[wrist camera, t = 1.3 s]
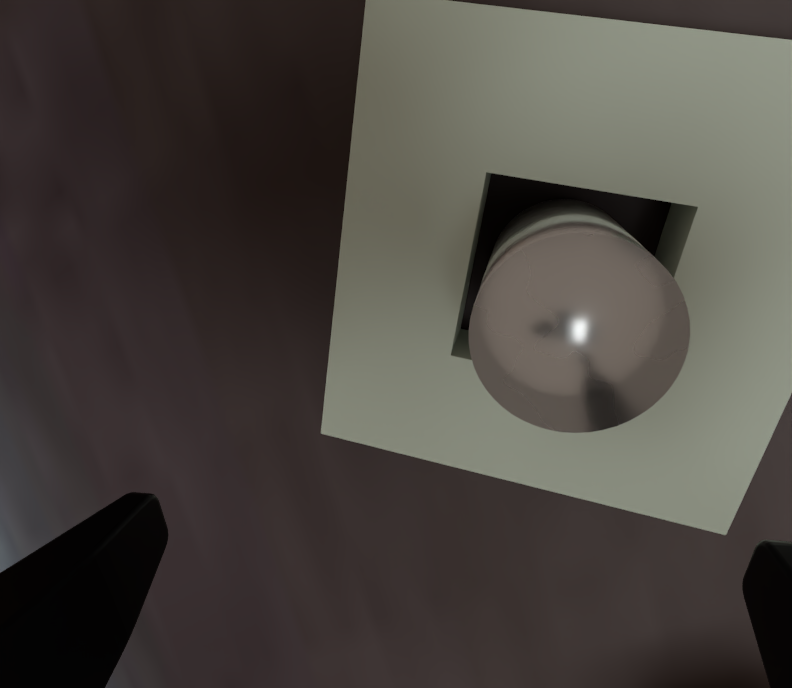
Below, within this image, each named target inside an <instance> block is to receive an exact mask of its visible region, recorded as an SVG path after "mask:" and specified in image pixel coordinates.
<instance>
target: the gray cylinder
mask: <svg viewBox="0 0 792 688" xmlns="http://www.w3.org/2000/svg"><path fill="white" fill-rule="evenodd" d="M689 340H690V319H689V313H688V308H687V305H686V302H685V299H684V296H683V294H682V292H681V290H680V288H679V286H678V284H677V282H676V281H675V279H674V278H673V277H672V275H671V274H670V273H669V271H668V270H667V269H666V268H665V267H664V266H663V265H662V264H661V263H660V262H659V261H658V260H657V259H656V258H655V257H654V256H653V255H652V254H651V253H650V252H648V251H647V250H646V249H645V248H644V247H643V246H642V245H641V244H640V243H639V242H638V241H637V240H636V239H635V238H633V237H632V236H631V235H630V234H629V233H628V232H627V231H626V230H625V229H624V228H623V227H622V226H621V225H619V224H618V223H617V222H616V221H615V220H614V219H613V218H612V217H611V216H610V215H609V214H607V213H606V212H605V211H603V210H602V209H600V208H598V207H596V206H595V205H592V204H590V203H587V202H584V201H580V200H575V199H553V200H547V201H544V202H540V203H537V204H535V205H533V206H531V207H529V208H527V209H525V210H524V211H522V212H520V213H519V214H518V215H517V216H515V217H514V218H513V219H512V220H511V221H510V222H509V223H508V224H507V225H506V226H505V228H504V229H503V230H502V232H501V233H500V235H499V237H498V239H497V241H496V243H495V245H494V248H493V251H492V254H491V257H490V259H489V262H488V265H487V268H486V271H485V274H484V277H483V280H482V283H481V286H480V289H479V291H478V294H477V297H476V300H475V303H474V306H473V310H472V313H471V317H470V324H469V348H470V355H471V359H472V362H473V366H474V368H475V370H476V373H477V375H478V377H479V379H480V381H481V382H482V384H483V386H484V387H485V389H486V390H487V391H488V393H489V394H490V395H491V396H492V397H493V399H494V400H496V401H497V402H498V403H499V404H500V405H501V406H502V407H503V408H504V409H506V410H507V411H508V412H510V413H511V414H512V415H514V416H516V417H518V418H519V419H521V420H523V421H525V422H527V423H530V424H532V425H534V426H537V427H541V428H544V429H547V430H552V431H558V432H567V433H585V432H594V431H600V430H605V429H608V428H612V427H615V426H618V425H621V424H623V423H625V422H628V421H630V420H632V419H634V418H635V417H637V416H639V415H641V414H642V413H644V412H645V411H647V410H648V409H649V408H651V407H652V406H653V405H654V404H655V403H656V402H658V401H659V400H660V399H661V398H662V397H663V396H664V395H665V393H666V392H667V391H668V390H669V389H670V387H671V386H672V385H673V383H674V381H675V380H676V378H677V377H678V375H679V373H680V371H681V369H682V367H683V364H684V362H685V359H686V355H687V352H688V348H689Z"/></svg>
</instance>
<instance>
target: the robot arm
mask: <svg viewBox="0 0 792 688" xmlns="http://www.w3.org/2000/svg"><path fill="white" fill-rule="evenodd" d="M167 541H168V528H167V525H166V522H165V519H164V515H163V512H162V509H161V506H160V503H159V500H158V498H157V497H156V496H155V495H154V494H150V493H136V492H132V493H128V494H126V495H124V496H122V497H121V498H119V499H117V500H116V501H114V502H113V503H111V504H109V505H108V506H106V507H105V508H103V509H102V510H100V511H98V512H97V513H95V514H94V515H92V516H90V517H89V518H87V519H86V520H84V521H82V522H81V523H79V524H78V525H76V526H74V527H73V528H71V529H70V530H68V531H66V532H65V533H63V534H62V535H60V536H58V537H57V538H55V539H54V540H52V541H50V542H49V543H47V544H46V545H44V546H42V547H41V548H39V549H38V550H36V551H34V552H33V553H31V554H30V555H28V556H26V557H25V558H23V559H22V560H20V561H18V562H17V563H15V564H14V565H12V566H10V567H9V568H7V569H6V570H4V571H3V572H1V573H0V688H105V686H106V684H107V682H108V680H109V678H110V677H111V675H112V673H113V671H114V669H115V667H116V665H117V663H118V661H119V659H120V657H121V655H122V653H123V651H124V649H125V647H126V644H127V642H128V640H129V638H130V636H131V634H132V631H133V629H134V627H135V624H136V622H137V619H138V617H139V614H140V612H141V609H142V606H143V604H144V601H145V599H146V596H147V594H148V591H149V589H150V586H151V584H152V581H153V578H154V576H155V573H156V571H157V568H158V566H159V563H160V561H161V558H162V555H163V553H164V550H165V548H166V545H167ZM743 595H744V599H745V602H746V606H747V609H748V613H749V616H750V620H751V623H752V627H753V630H754V633H755V637H756V640H757V644H758V647H759V651H760V654H761V658H762V661H763V665H764V668H765V671H766V675H767V678H768V682H769V685H770V688H792V542H787V541H774V540H762V541H760V542H759V543H758V544H757V546H756V547H755V550H754V552H753V555H752V557H751V560H750V562H749V565H748V568H747V570H746V573H745V575H744V578H743Z"/></svg>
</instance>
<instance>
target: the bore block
mask: <svg viewBox="0 0 792 688" xmlns="http://www.w3.org/2000/svg"><path fill="white" fill-rule="evenodd" d="M491 173H494V174H500V175H506V176H512V177H518V178H524V179H531V180H537V181H543V182H549V183H555V184H561V185H567V186H573V187H579V188H586V189H592V190H598V191H604V192H610V193H616V194H622V195H628V196H635V197H641V198H647V199H653V200H659V201H665V202H671V206H670V209H669V213H668V216H667V219H666V222H665V225H664V228H663V231H662V234H661V237H660V240H659V244H658V247H657V250H656V253H655V256H654V257H655V258H656V259H657V260H658V261H659V262H660V263H661V264H662V265H663V266H664V267H665V268H666V269H667V270H668V271H669V273H670V274H671V275H672V277H673V278H674V279H675V281H676V282H677V284H678V286H679V288H680V290H681V292H682V294H683V296H684V299H685V302H686V305H687V308H688V313H689V319H690V340H689V348H688V352H687V355H686V359H685V362H684V364H683V367H682V369H681V371H680V373H679V375H678V377H677V378H676V380H675V381H674V383H673V385H672V386H671V387H670V389H669V390H668V391H667V392H666V393H665V395H664V396H663V397H662V398H661V399H660V400H659V401H658V402H656V403H655V404H654V405H653V406H652V407H651V408H649V409H648V410H647V411H645V412H644V413H642V414H641V415H639V416H637V417H635V418H634V419H632V420H630V421H628V422H625V423H623V424H621V425H618V426H615V427H612V428H608V429H605V430H600V431H594V432H585V433H567V432H558V431H552V430H547V429H544V428H541V427H537V426H534V425H532V424H530V423H527V422H525V421H523V420H521V419H519V418H518V417H516V416H514V415H512V414H511V413H510V412H508V411H507V410H506V409H504V408H503V407H502V406H501V405H500V404H499V403H498V402H497V401H496V400H494V399H493V397H492V396H491V395H490V394H489V393H488V391H487V390H486V389H485V387H484V386H483V384H482V382H481V381H480V379H479V377H478V375H477V373H476V370H475V368H474V366H473V362H472V359H471V355H470V348H469V330H464V329H461V324H462V319H463V314H464V309H465V304H466V299H467V294H468V289H469V284H470V279H471V274H472V269H473V263H474V258H475V253H476V248H477V243H478V238H479V233H480V228H481V223H482V218H483V213H484V208H485V203H486V198H487V193H488V188H489V183H490V178H491ZM791 393H792V40H787V39H778V38H770V37H761V36H752V35H744V34H735V33H726V32H717V31H709V30H700V29H691V28H683V27H674V26H665V25H657V24H648V23H639V22H630V21H622V20H613V19H604V18H596V17H587V16H578V15H570V14H561V13H552V12H543V11H535V10H526V9H517V8H509V7H500V6H491V5H483V4H474V3H465V2H456V1H448V0H366V3H365V13H364V23H363V32H362V42H361V51H360V61H359V71H358V80H357V90H356V100H355V109H354V119H353V128H352V138H351V148H350V157H349V167H348V177H347V186H346V196H345V205H344V215H343V225H342V234H341V244H340V254H339V263H338V273H337V282H336V292H335V302H334V311H333V321H332V331H331V340H330V350H329V360H328V369H327V379H326V388H325V398H324V408H323V417H322V427H321V434H325V435H329V436H333V437H337V438H341V439H345V440H349V441H353V442H357V443H361V444H365V445H369V446H373V447H377V448H380V449H384V450H388V451H392V452H396V453H400V454H404V455H408V456H412V457H416V458H420V459H424V460H428V461H432V462H436V463H440V464H444V465H448V466H452V467H456V468H460V469H464V470H468V471H472V472H476V473H480V474H484V475H488V476H492V477H496V478H500V479H504V480H508V481H512V482H516V483H520V484H524V485H528V486H532V487H536V488H540V489H544V490H548V491H552V492H556V493H560V494H564V495H568V496H572V497H576V498H580V499H584V500H588V501H592V502H596V503H600V504H604V505H608V506H611V507H615V508H619V509H623V510H627V511H631V512H635V513H639V514H643V515H647V516H651V517H655V518H659V519H663V520H667V521H671V522H675V523H679V524H683V525H687V526H691V527H695V528H699V529H703V530H707V531H711V532H715V533H719V534H723V535H726V534H727V532H728V530H729V527H730V525H731V523H732V521H733V519H734V517H735V514H736V512H737V510H738V508H739V506H740V504H741V501H742V499H743V497H744V495H745V493H746V491H747V488H748V486H749V484H750V482H751V480H752V478H753V475H754V473H755V471H756V469H757V467H758V465H759V462H760V460H761V458H762V456H763V454H764V452H765V449H766V447H767V445H768V443H769V441H770V439H771V436H772V434H773V432H774V430H775V428H776V426H777V423H778V421H779V419H780V417H781V415H782V413H783V410H784V408H785V406H786V404H787V402H788V400H789V397H790V395H791Z"/></svg>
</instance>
